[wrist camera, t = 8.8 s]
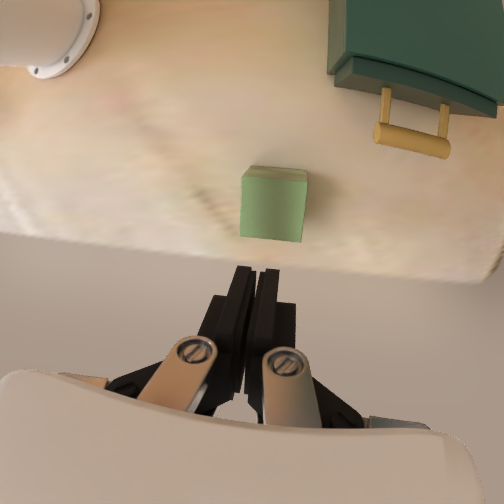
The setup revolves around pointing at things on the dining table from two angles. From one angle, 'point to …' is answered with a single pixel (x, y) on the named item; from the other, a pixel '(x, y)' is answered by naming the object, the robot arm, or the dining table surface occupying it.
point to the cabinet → (424, 39)
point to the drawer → (415, 91)
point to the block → (273, 203)
